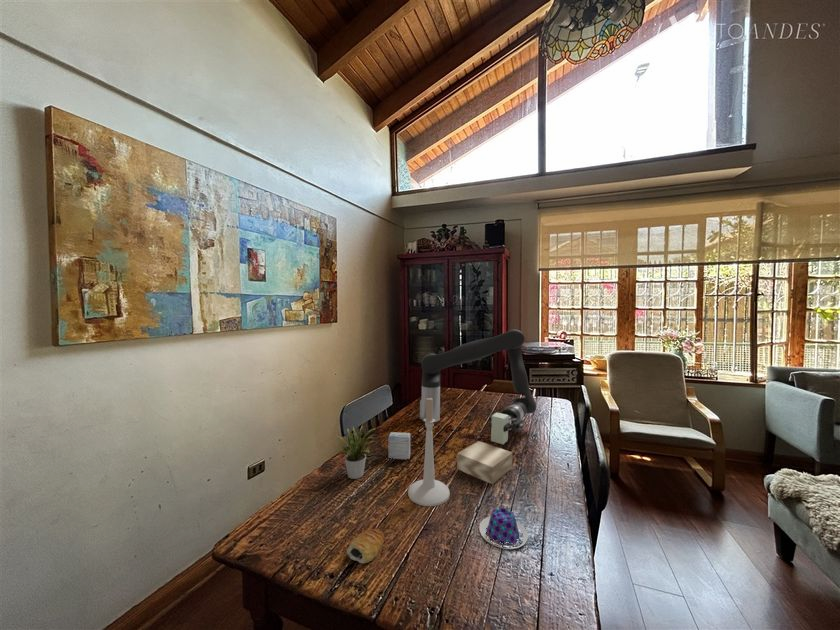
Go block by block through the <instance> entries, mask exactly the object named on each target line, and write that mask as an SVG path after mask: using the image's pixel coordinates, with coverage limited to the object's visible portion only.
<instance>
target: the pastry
mask: <svg viewBox="0 0 840 630" xmlns="http://www.w3.org/2000/svg"><path fill="white" fill-rule="evenodd" d="M384 541H385V535H384V533H383V532H382V530H380V529H379V528H372V529H368V530H366V531H362V532H361V533H357V536H356V537H354V538H353V539H352V540H351V541H350V544H349V545H348V548H347V549H346V555H347V556H348V557H349V558H350V559H351V560H353V561H354V562H355V561H357V562H358V563H360V564H369V563H370V561H371V562H372V561H373V560H375V558H376V557H377V556H378V554H379V552H381V549H382V547H383V545H384Z"/></svg>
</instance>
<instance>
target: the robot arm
mask: <svg viewBox="0 0 840 630" xmlns="http://www.w3.org/2000/svg"><path fill="white" fill-rule="evenodd" d="M525 340H526V338H525V335H524V334H523V332H522V331H521V330H518V329H514V328H513V329H510V330H508V331H507V330H506V332H502V333H501V334H498V335H496V336H492V337H486V338H481V339H476V340H474V341H469V342H466V343H463V344H461V345H458V346H456V347H453V348H452V349H450V350H448V351H445V352H441V353H437V354H436V353H435V352H434V353H433V352H429V353H427V354H425V355H423V358H422V359H421V364H420V366H421V367H420V368H421V370H422V374H421V375H422V376H421V377H422V378H421V399H420V400H419V420H422V422H424V419H426V399H427V398H429V397H430V398H432V399H433V419H435V422H434V423H436V422H439V421H440V419H441V417H440V416H441V371H442V370H444V369H446V368H449V367H453V366H459V365H463V364H467V363H471V362H474V361H478V360H481V359H484V358H486V357H488V356H491V355H493V354H496V353H498V352H502V351H507V356H508V359H509V363H510V364H509V365H510V372H511V378H512V379H511V380H512V385H513V386H512V387H513V391H514V392H515V393H517V394H522V395H523V396H524V397H516V398H514V399H513V400H512V403H511V404H510V405H509V406H506V408H504V409H503V410H502V411H501V412H500V413H502V414H506V415H509V420H508V423H507V424H506V425H505V426H504V428H503V431H504V432H506V431H508V432H509V431H510V430H513V431H517V430H520V429H521V428H523V427H524V420H523V418H524V417H525V416H526V415H527V414H534V413H535V412H536V410H537V403H536V400H535V399H534V397H533V394H532V391H531V388H530V385H529V380H528V379H529V378H528V374H527V370H526V367H525V363H524V360H523V353H522V352H523V351H522V346H523V344H524V343H525ZM494 414H495V413H490V415H489V416H488V426H489V428H490V429H491V427H492V415H494Z"/></svg>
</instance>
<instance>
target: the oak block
mask: <svg viewBox="0 0 840 630" xmlns="http://www.w3.org/2000/svg"><path fill="white" fill-rule="evenodd" d="M456 455H457V456H456V461H457V462H456V467H457V468H456V470H458V471H460V470H461V472H462V473H465V474H467V475H469V476H472V477H475V478H477V479H479V480H481V481H484V482H486V483H488V484H491V485H494V484H495V483H496V482H497V481H498V480H499V479H501V478H502V477H503V476H505V475H506V473H508V472H509V471H511V470H512V469H513V451H509V450H506V449H503V448H501V447H497V446H495V445H491V444H489V443H486V442H483V441H480V440H478V441H475V442H474V443H473V444H471V445H469V446H467V447H465V449H462V450H461V451H459V452H457V453H456Z"/></svg>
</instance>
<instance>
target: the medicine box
mask: <svg viewBox="0 0 840 630" xmlns="http://www.w3.org/2000/svg"><path fill="white" fill-rule="evenodd" d="M387 440H388V459H389V458H391V459H392V458H393V459H392V460H407V459H409V460H410V457H411V433H410V432H394V431H391V432H390V433H389V435H388V439H387Z"/></svg>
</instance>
